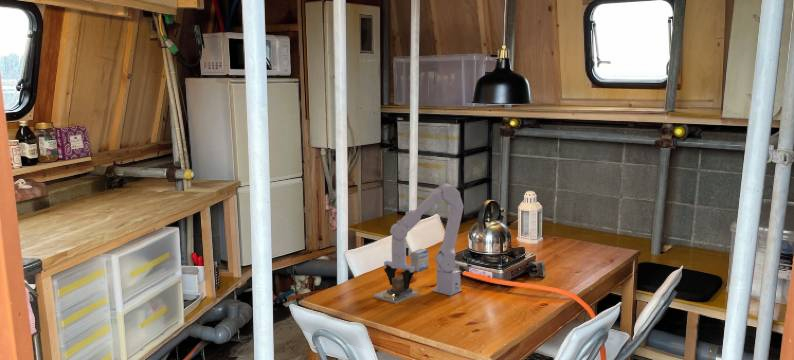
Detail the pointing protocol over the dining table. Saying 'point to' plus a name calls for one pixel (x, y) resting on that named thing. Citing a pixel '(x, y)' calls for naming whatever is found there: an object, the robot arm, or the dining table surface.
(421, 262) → the medicine box
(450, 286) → the robot arm
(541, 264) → the caster wheel
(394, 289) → the walnut wedge block
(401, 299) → the steel rosette plate
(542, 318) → the dining table surface
